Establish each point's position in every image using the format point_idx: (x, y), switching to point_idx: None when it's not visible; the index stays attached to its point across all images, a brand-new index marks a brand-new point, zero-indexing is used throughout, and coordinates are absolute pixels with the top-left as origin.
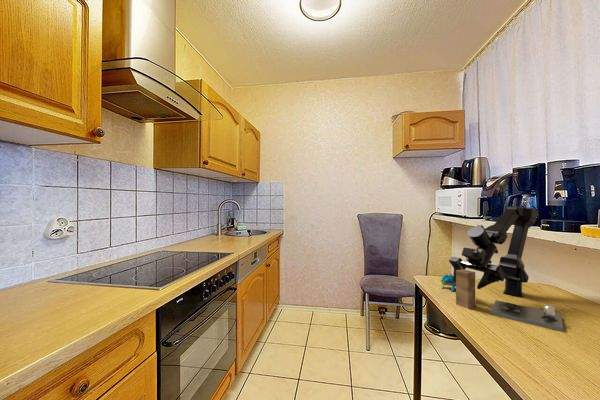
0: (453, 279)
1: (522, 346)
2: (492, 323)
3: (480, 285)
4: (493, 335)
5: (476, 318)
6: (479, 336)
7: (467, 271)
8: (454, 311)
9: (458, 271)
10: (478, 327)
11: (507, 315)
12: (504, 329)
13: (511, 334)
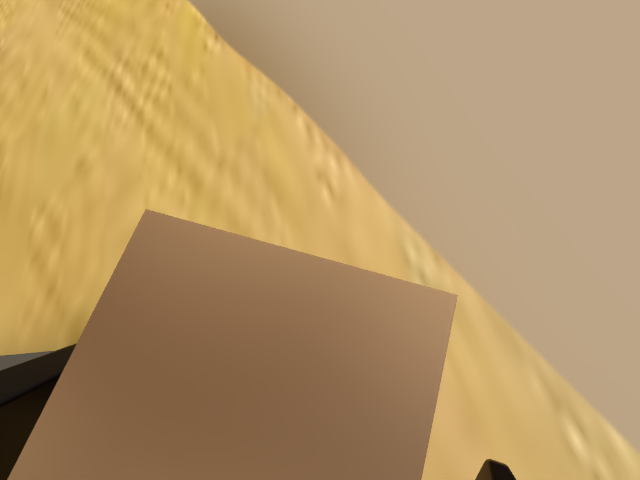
0: (506, 475)
1: (19, 52)
2: (120, 190)
3: (64, 357)
4: (115, 61)
5: (201, 194)
6: (163, 13)
7: (175, 430)
8: (333, 201)
9: (378, 276)
10: (177, 89)
11: (18, 355)
12: (67, 159)
13: (43, 127)
